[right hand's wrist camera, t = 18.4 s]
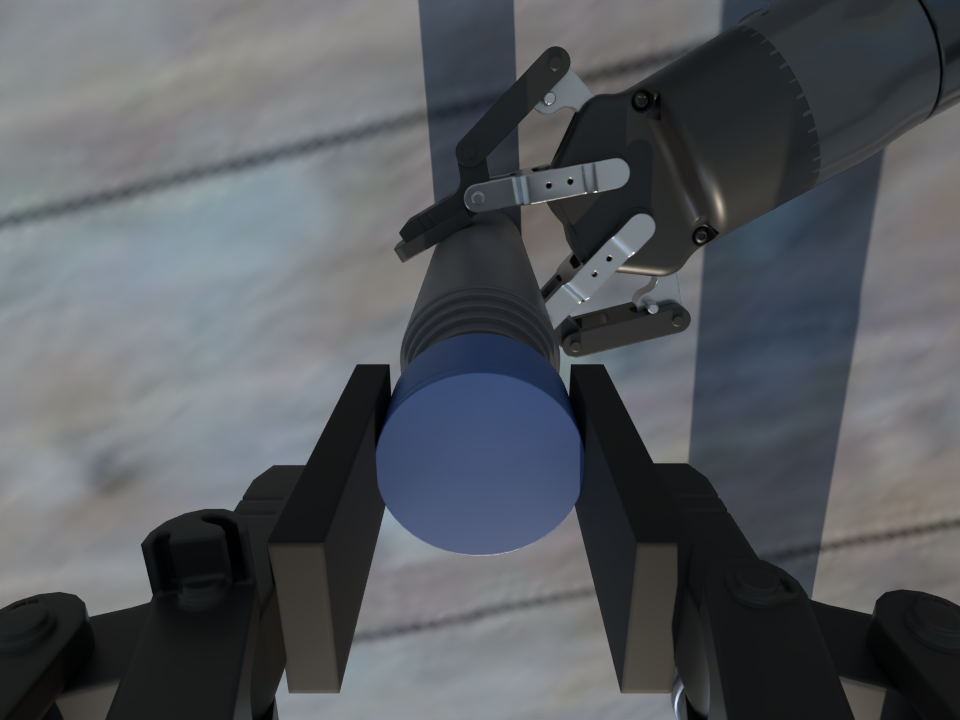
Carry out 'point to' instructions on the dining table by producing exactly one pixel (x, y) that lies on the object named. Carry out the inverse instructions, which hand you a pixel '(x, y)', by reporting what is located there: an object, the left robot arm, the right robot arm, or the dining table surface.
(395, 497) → the cap
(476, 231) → the bottle
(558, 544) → the dining table surface
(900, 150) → the dining table surface
